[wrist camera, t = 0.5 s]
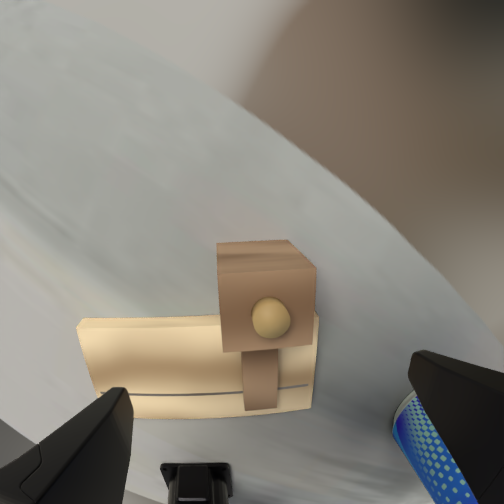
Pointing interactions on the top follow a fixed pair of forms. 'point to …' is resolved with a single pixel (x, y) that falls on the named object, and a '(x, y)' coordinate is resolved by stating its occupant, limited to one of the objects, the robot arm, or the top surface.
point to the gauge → (264, 310)
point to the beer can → (429, 454)
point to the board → (185, 367)
